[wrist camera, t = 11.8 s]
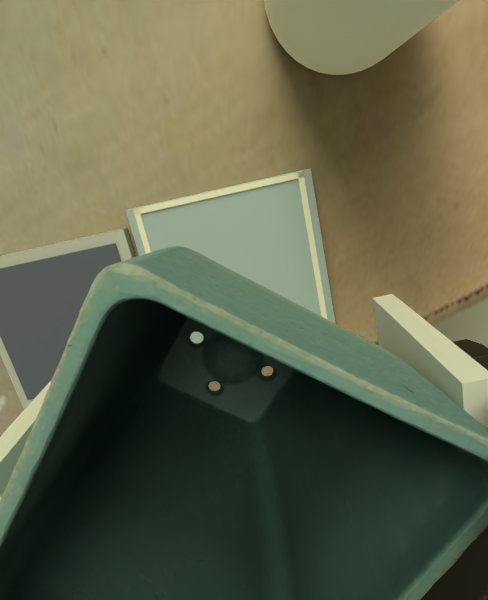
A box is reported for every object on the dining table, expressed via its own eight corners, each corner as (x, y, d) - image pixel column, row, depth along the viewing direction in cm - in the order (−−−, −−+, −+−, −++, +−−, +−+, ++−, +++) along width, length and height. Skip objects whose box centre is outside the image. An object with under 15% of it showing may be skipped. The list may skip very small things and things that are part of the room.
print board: (173, 358, 33) (171, 364, 32) (128, 209, 29) (125, 210, 28) (334, 325, 32) (336, 330, 31) (308, 168, 28) (311, 168, 27)
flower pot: (274, 474, 18) (306, 737, 10) (91, 394, 17) (-57, 618, 9) (383, 312, 16) (546, 470, 8) (181, 205, 15) (103, 251, 6)
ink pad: (29, 402, 34) (21, 411, 32) (-30, 262, 30) (-42, 266, 29) (170, 373, 33) (168, 381, 32) (126, 227, 29) (122, 229, 28)
